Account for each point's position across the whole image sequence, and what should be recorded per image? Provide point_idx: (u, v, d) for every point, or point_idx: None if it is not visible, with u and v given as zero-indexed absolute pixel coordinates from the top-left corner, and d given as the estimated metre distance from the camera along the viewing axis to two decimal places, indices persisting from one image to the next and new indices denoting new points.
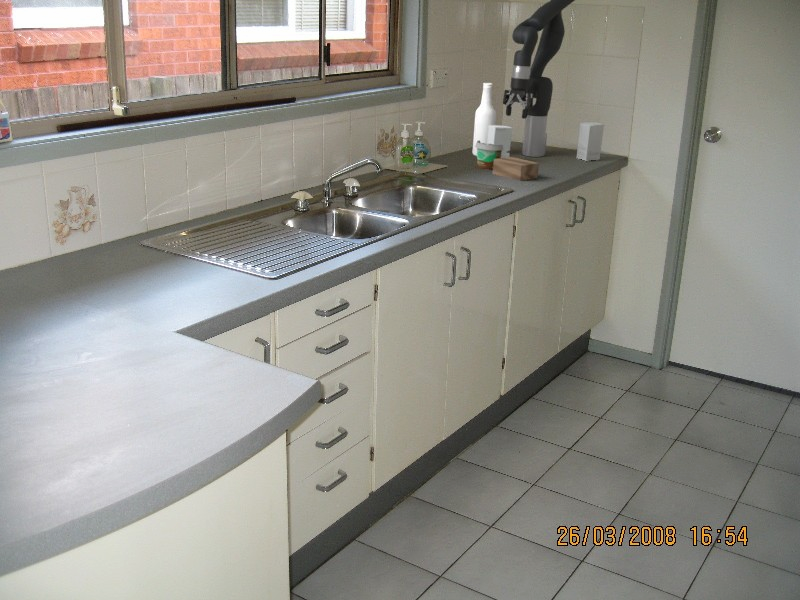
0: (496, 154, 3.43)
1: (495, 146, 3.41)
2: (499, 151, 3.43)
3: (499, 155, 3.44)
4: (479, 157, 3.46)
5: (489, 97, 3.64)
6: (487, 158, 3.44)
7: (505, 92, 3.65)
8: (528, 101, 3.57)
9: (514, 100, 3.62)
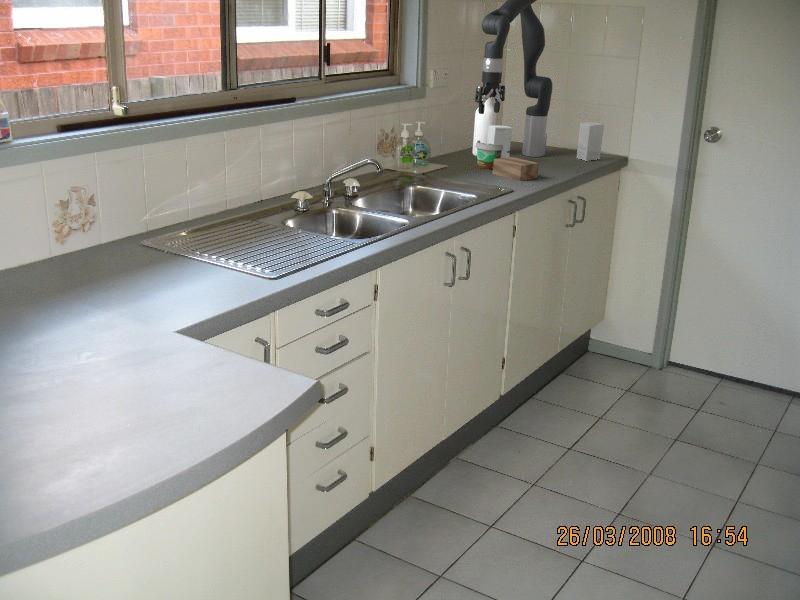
0: (496, 154, 3.43)
1: (495, 146, 3.41)
2: (499, 151, 3.43)
3: (499, 155, 3.44)
4: (479, 157, 3.46)
5: None
6: (487, 158, 3.44)
7: (482, 89, 3.32)
8: (504, 93, 3.41)
9: (490, 96, 3.37)
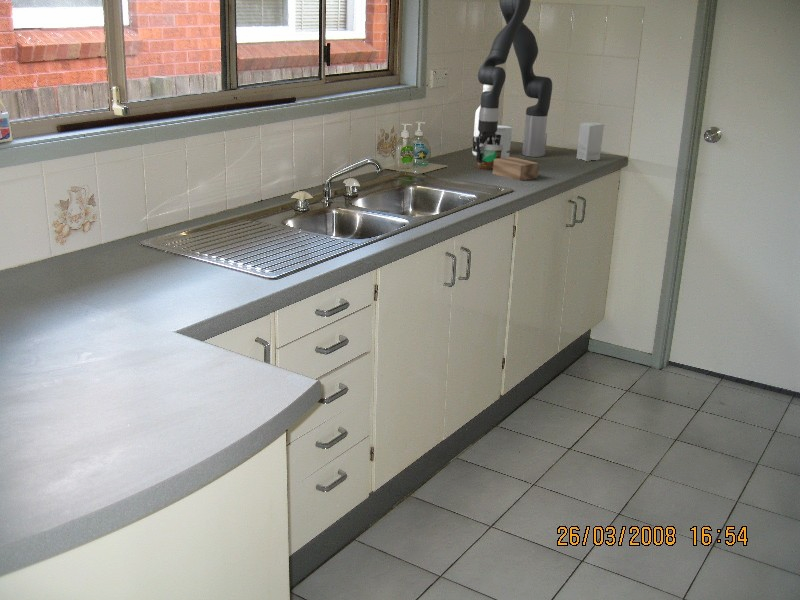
0: (496, 154, 3.43)
1: (495, 146, 3.41)
2: (499, 151, 3.43)
3: (499, 154, 3.44)
4: None
5: None
6: (487, 158, 3.44)
7: (478, 140, 3.39)
8: (499, 142, 3.47)
9: (487, 143, 3.43)
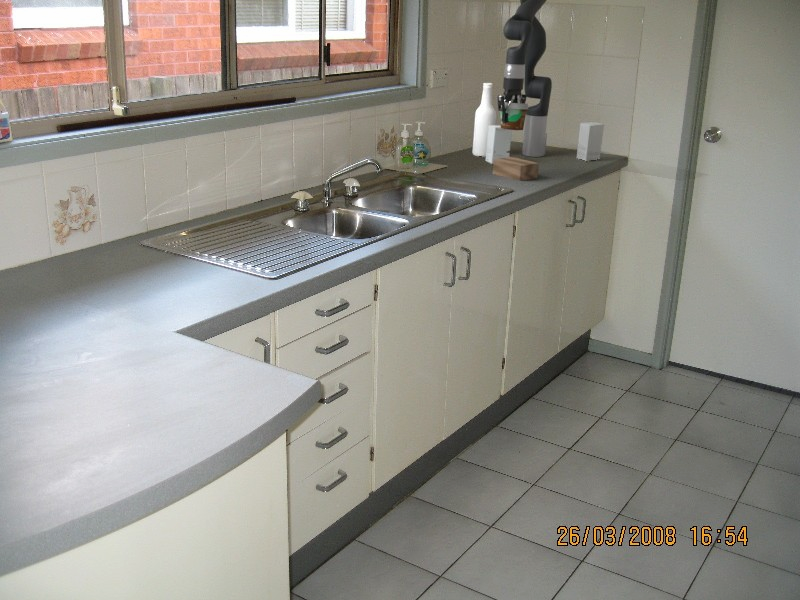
0: (521, 113, 3.28)
1: (520, 105, 3.26)
2: (524, 110, 3.28)
3: (524, 114, 3.29)
4: None
5: (489, 97, 3.64)
6: (511, 117, 3.29)
7: (503, 98, 3.25)
8: (524, 103, 3.33)
9: (513, 102, 3.29)
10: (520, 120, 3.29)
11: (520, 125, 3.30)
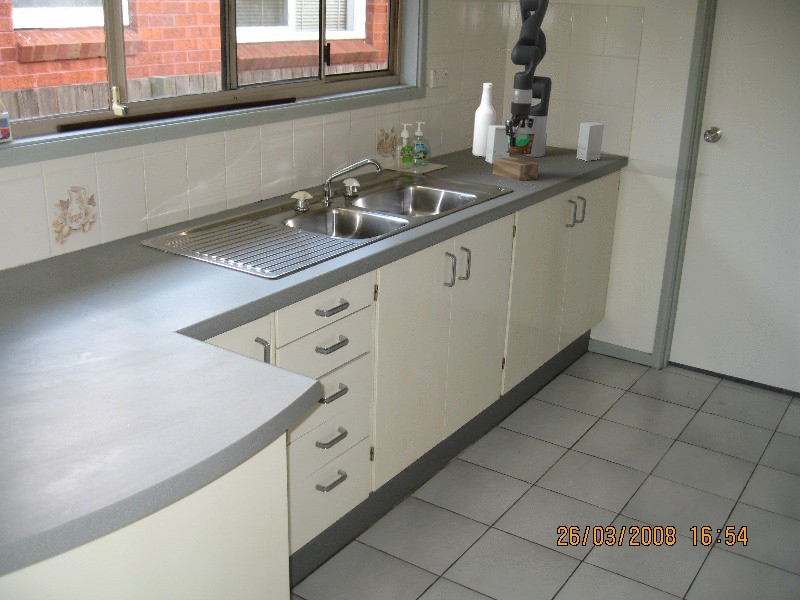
0: (529, 138, 3.29)
1: (528, 129, 3.27)
2: (532, 135, 3.29)
3: (531, 138, 3.29)
4: None
5: (489, 97, 3.64)
6: (519, 142, 3.29)
7: (511, 123, 3.25)
8: (531, 127, 3.33)
9: (520, 126, 3.29)
10: (528, 144, 3.30)
11: (528, 150, 3.31)
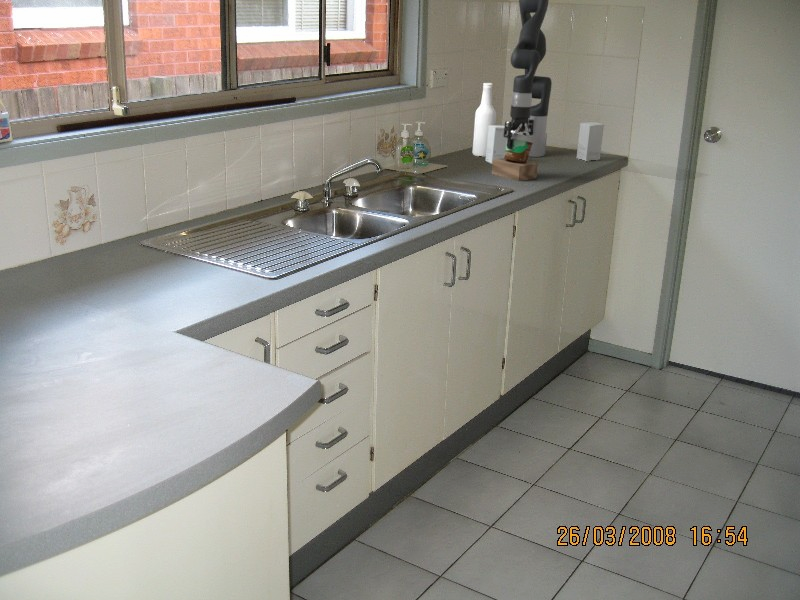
0: (526, 146, 3.29)
1: (526, 137, 3.28)
2: (529, 143, 3.29)
3: (529, 147, 3.30)
4: None
5: (489, 97, 3.64)
6: (516, 149, 3.29)
7: (510, 124, 3.25)
8: (532, 128, 3.34)
9: (519, 130, 3.29)
10: (524, 152, 3.30)
11: (523, 158, 3.30)
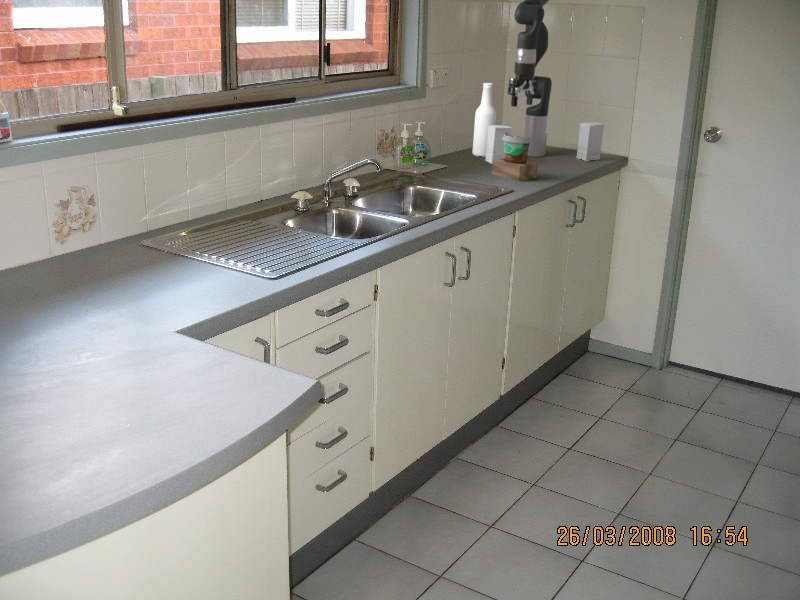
0: (524, 147, 3.28)
1: (522, 139, 3.26)
2: (527, 144, 3.28)
3: (526, 148, 3.28)
4: (506, 150, 3.31)
5: (489, 97, 3.64)
6: (514, 151, 3.28)
7: (515, 81, 3.22)
8: (536, 85, 3.31)
9: (523, 88, 3.26)
10: (523, 154, 3.29)
11: (523, 159, 3.30)
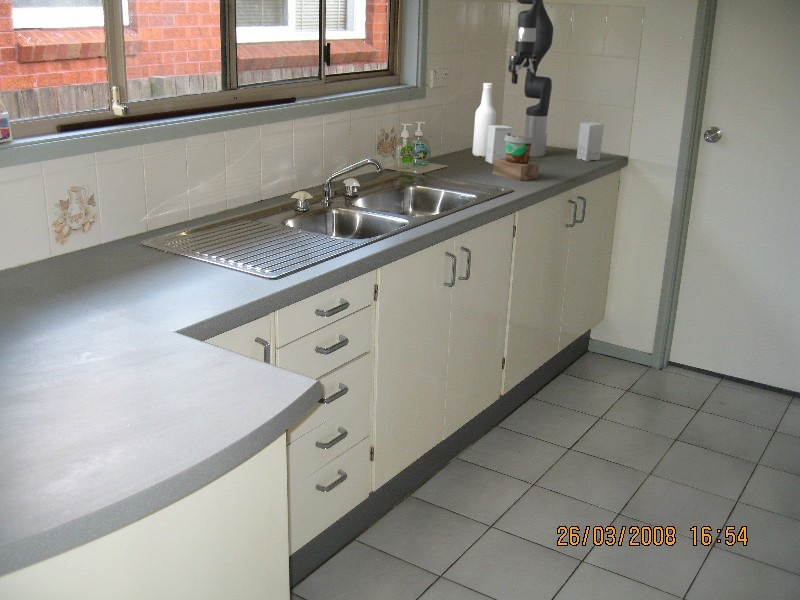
0: (525, 147, 3.28)
1: (524, 139, 3.26)
2: (528, 144, 3.28)
3: (528, 148, 3.29)
4: (508, 150, 3.31)
5: (489, 97, 3.64)
6: (516, 151, 3.29)
7: (515, 59, 3.32)
8: (536, 64, 3.41)
9: (523, 65, 3.37)
10: (525, 154, 3.29)
11: (524, 159, 3.30)
